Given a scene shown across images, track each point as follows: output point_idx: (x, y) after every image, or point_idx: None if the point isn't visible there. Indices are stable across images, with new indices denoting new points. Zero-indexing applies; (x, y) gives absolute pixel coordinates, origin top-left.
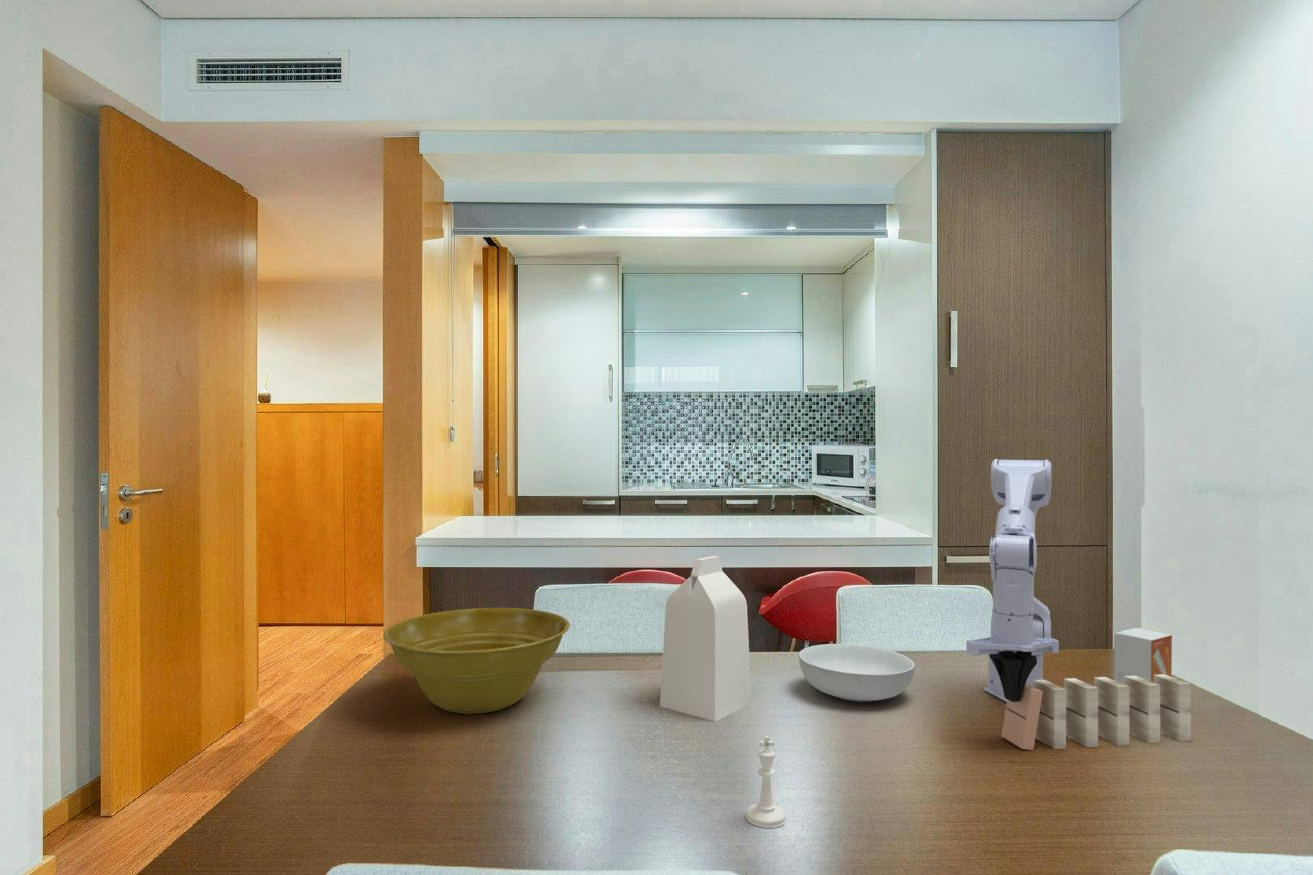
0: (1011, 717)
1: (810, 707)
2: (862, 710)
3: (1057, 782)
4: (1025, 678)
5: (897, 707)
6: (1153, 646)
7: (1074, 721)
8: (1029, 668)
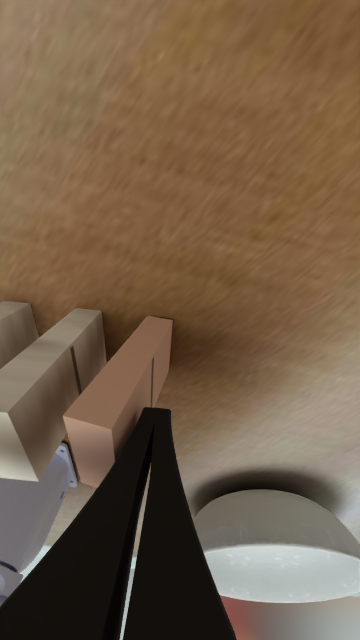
0: (156, 387)
1: (353, 492)
2: (295, 474)
3: (226, 144)
4: (110, 490)
5: (238, 472)
6: None
7: (9, 354)
8: (69, 565)
